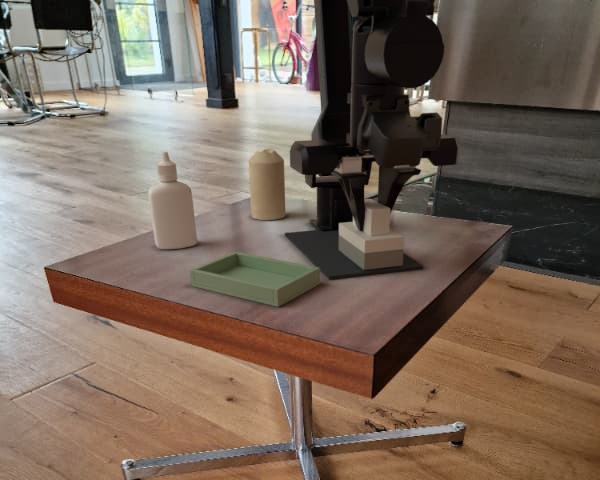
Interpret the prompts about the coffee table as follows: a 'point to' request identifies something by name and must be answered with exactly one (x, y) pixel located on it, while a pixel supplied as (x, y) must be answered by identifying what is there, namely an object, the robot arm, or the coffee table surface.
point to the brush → (372, 239)
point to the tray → (256, 278)
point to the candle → (267, 185)
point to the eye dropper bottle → (171, 209)
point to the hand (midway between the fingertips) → (370, 229)
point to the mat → (337, 255)
